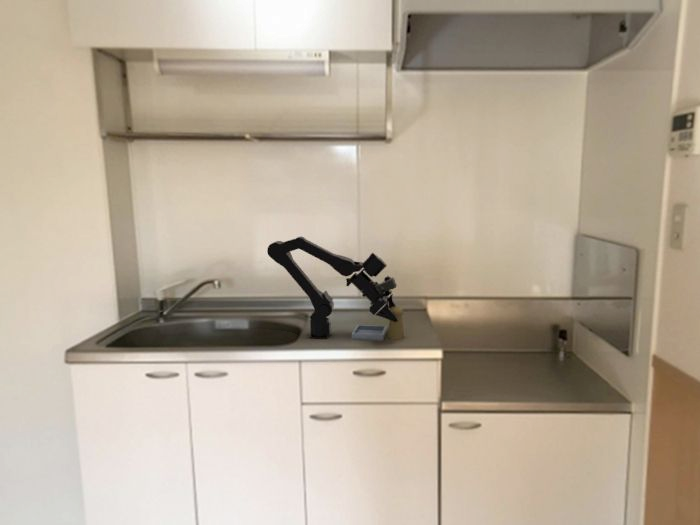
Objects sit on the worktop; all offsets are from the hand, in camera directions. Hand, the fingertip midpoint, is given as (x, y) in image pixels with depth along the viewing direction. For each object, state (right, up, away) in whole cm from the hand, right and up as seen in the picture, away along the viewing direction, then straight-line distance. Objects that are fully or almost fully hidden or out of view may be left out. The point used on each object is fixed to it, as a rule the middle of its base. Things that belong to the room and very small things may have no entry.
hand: (398, 317), depth 163 cm
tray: (-10, -7, +4) cm, 13 cm away
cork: (-1, -7, +1) cm, 7 cm away
